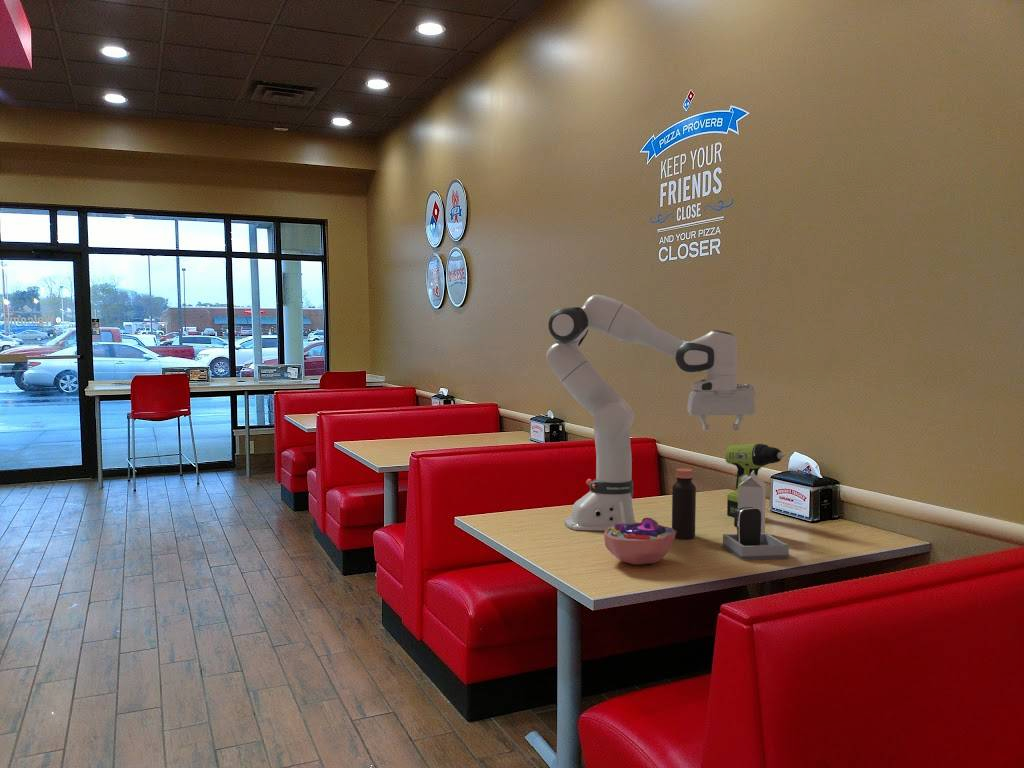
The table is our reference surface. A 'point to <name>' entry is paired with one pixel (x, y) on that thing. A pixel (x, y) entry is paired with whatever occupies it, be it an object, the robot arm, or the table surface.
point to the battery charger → (748, 526)
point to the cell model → (639, 541)
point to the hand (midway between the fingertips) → (721, 429)
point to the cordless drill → (748, 465)
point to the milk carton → (753, 495)
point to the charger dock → (757, 548)
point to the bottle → (684, 504)
